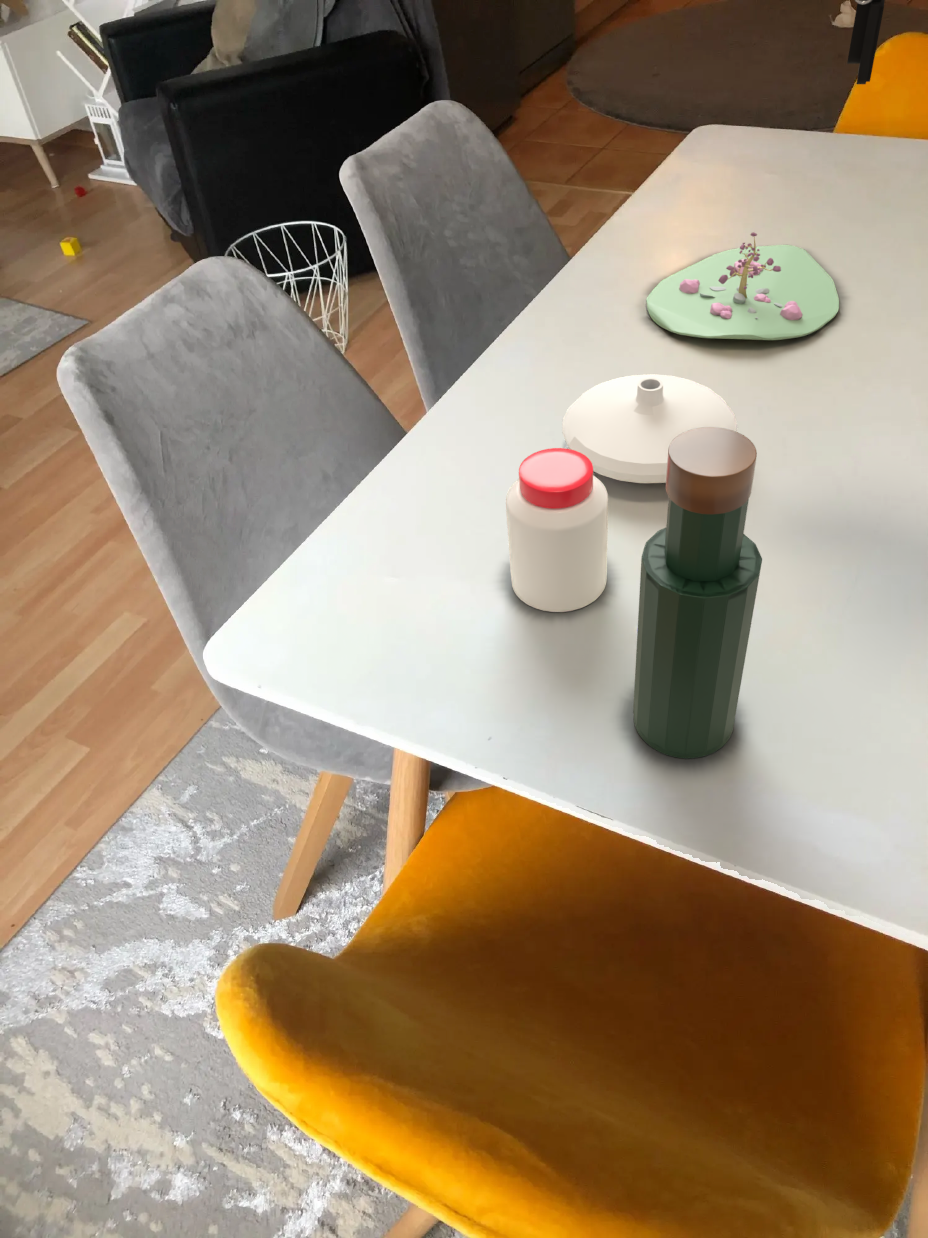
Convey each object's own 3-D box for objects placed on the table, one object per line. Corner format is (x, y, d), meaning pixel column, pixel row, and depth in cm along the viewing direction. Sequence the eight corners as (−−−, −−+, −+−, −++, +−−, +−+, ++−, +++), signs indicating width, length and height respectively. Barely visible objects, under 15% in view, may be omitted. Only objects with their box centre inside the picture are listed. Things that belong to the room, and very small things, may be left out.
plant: (674, 242, 120) (679, 168, 114) (848, 253, 114) (863, 175, 108) (629, 341, 104) (632, 261, 98) (829, 360, 98) (846, 275, 92)
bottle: (754, 733, 65) (800, 500, 51) (671, 774, 64) (695, 544, 50) (694, 669, 70) (721, 439, 56) (614, 706, 68) (622, 478, 54)
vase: (705, 519, 82) (712, 450, 77) (535, 481, 88) (532, 415, 83) (753, 420, 91) (763, 354, 86) (598, 392, 97) (598, 328, 92)
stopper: (758, 558, 55) (775, 457, 50) (692, 587, 54) (702, 487, 49) (709, 516, 58) (720, 417, 53) (645, 542, 57) (651, 444, 52)
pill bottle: (577, 625, 74) (576, 513, 67) (493, 592, 78) (483, 482, 70) (623, 566, 79) (627, 455, 71) (542, 537, 82) (537, 429, 74)
